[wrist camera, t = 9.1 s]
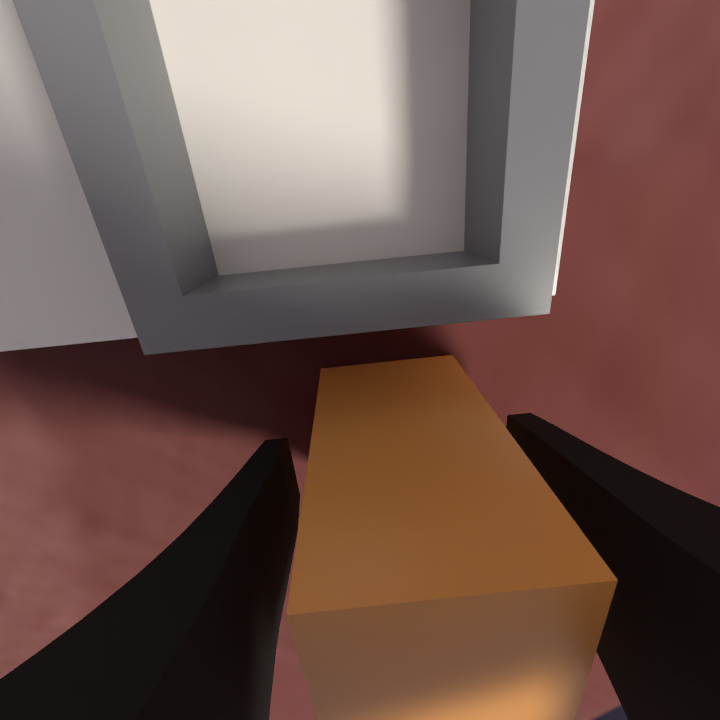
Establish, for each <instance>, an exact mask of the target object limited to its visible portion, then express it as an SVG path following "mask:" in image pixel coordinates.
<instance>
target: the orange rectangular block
mask: <svg viewBox="0 0 720 720" xmlns="http://www.w3.org/2000/svg"><path fill="white" fill-rule="evenodd" d="M617 581H618V580H617V578H616V577H615V575H614V574H613V573H612V571H611V570H610V569H609V567H608V566H607V565H606V563H605V562H604V560H603V559H602V558H601V556H600V555H599V554H598V552H597V551H596V550H595V548H594V547H593V545H592V544H591V543H590V541H589V540H588V539H587V537H586V536H585V535H584V533H583V532H582V531H581V529H580V528H579V526H578V525H577V524H576V522H575V521H574V520H573V518H572V517H571V516H570V514H569V513H568V511H567V510H566V509H565V507H564V506H563V505H562V503H561V502H560V501H559V499H558V498H557V496H556V495H555V494H554V492H553V491H552V490H551V488H550V487H549V486H548V484H547V483H546V482H545V480H544V479H543V477H542V476H541V475H540V473H539V472H538V471H537V469H536V468H535V467H534V465H533V464H532V462H531V461H530V460H529V458H528V457H527V456H526V454H525V453H524V452H523V450H522V449H521V447H520V446H519V445H518V443H517V442H516V441H515V439H514V438H513V437H512V435H511V434H510V433H509V431H508V430H507V428H506V427H505V426H504V424H503V423H502V422H501V420H500V419H499V418H498V416H497V415H496V413H495V412H494V411H493V409H492V408H491V407H490V405H489V404H488V403H487V401H486V400H485V399H484V397H483V396H482V394H481V393H480V392H479V390H478V389H477V388H476V386H475V385H474V384H473V382H472V381H471V379H470V378H469V377H468V375H467V374H466V373H465V371H464V370H463V369H462V367H461V366H460V364H459V363H458V362H457V360H456V359H455V358H454V356H453V355H445V356H436V357H426V358H417V359H407V360H398V361H388V362H379V363H369V364H360V365H350V366H341V367H331V368H322V369H321V372H320V379H319V386H318V393H317V400H316V407H315V415H314V422H313V429H312V436H311V443H310V450H309V458H308V465H307V472H306V479H305V486H304V493H303V501H302V508H301V515H300V522H299V529H298V536H297V544H296V551H295V558H294V565H293V572H292V579H291V587H290V594H289V601H288V608H287V619H288V622H289V625H290V629H291V632H292V636H293V639H294V643H295V646H296V650H297V653H298V656H299V660H300V663H301V667H302V670H303V674H304V677H305V680H306V684H307V687H308V691H309V694H310V698H311V701H312V705H313V708H314V711H315V715H316V718H317V720H575V719H576V716H577V713H578V709H579V706H580V703H581V700H582V696H583V693H584V690H585V686H586V683H587V680H588V677H589V673H590V670H591V667H592V663H593V660H594V657H595V654H596V650H597V647H598V644H599V640H600V637H601V634H602V631H603V627H604V624H605V621H606V618H607V614H608V611H609V608H610V604H611V601H612V598H613V595H614V591H615V588H616V585H617Z"/></svg>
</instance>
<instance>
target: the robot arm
mask: <svg viewBox="0 0 720 720" xmlns="http://www.w3.org/2000/svg"><path fill="white" fill-rule="evenodd" d="M506 428H507V430H508V431H509V433H510V434H511V435H512V437H513V438H514V439H515V441H516V442H517V443H518V445H519V446H520V447H521V449H522V450H523V452H524V453H525V454H526V456H527V457H528V458H529V460H530V461H531V462H532V464H533V465H534V467H535V468H536V469H537V471H538V472H539V473H540V475H541V476H542V477H543V479H544V480H545V482H546V483H547V484H548V486H549V487H550V488H551V490H552V491H553V492H554V494H555V495H556V496H557V498H558V499H559V501H560V502H561V503H562V505H563V506H564V507H565V509H566V510H567V511H568V513H569V514H570V516H571V517H572V518H573V520H574V521H575V522H576V524H577V525H578V526H579V528H580V529H581V531H582V532H583V533H584V535H585V536H586V537H587V539H588V540H589V541H590V543H591V544H592V545H593V547H594V548H595V550H596V551H597V552H598V554H599V555H600V556H601V558H602V559H603V560H604V562H605V563H606V565H607V566H608V567H609V569H610V570H611V571H612V573H613V574H614V575H615V577H616V578H617V580H618V581H617V585H616V588H615V591H614V595H613V598H612V601H611V604H610V608H609V611H608V614H607V618H606V621H605V624H604V627H603V631H602V634H601V637H600V640H599V644H598V647H597V650H596V651H597V653H598V655H599V657H600V659H601V662H602V664H603V666H604V668H605V670H606V672H607V674H608V676H609V679H610V681H611V683H612V685H613V687H614V690H615V692H616V694H617V696H618V698H619V700H620V703H621V705H622V707H623V709H624V711H625V713H626V715H627V717H628V720H720V507H718V506H716V505H713V504H711V503H708V502H706V501H704V500H701V499H699V498H697V497H694V496H692V495H690V494H687V493H685V492H683V491H681V490H679V489H676V488H674V487H672V486H670V485H668V484H665V483H663V482H661V481H659V480H657V479H655V478H653V477H651V476H649V475H647V474H645V473H643V472H641V471H639V470H637V469H635V468H633V467H631V466H629V465H627V464H625V463H623V462H621V461H619V460H617V459H615V458H613V457H611V456H610V455H608V454H606V453H604V452H602V451H600V450H598V449H596V448H595V447H593V446H591V445H589V444H587V443H585V442H584V441H582V440H580V439H578V438H576V437H575V436H573V435H571V434H569V433H567V432H565V431H564V430H562V429H560V428H558V427H556V426H555V425H553V424H551V423H549V422H547V421H545V420H543V419H541V418H540V417H538V416H535V415H533V414H531V413H525V414H515V415H508V416H507V427H506ZM299 503H300V493H299V489H298V484H297V479H296V475H295V470H294V465H293V461H292V456H291V451H290V446H289V442H288V438H282V439H273V440H265V441H264V442H263V444H262V445H261V446H260V447H259V448H258V449H257V450H256V452H255V453H254V454H253V455H252V456H251V458H250V459H249V460H248V461H247V462H246V464H245V465H244V466H243V467H242V468H241V470H240V471H239V472H238V473H237V474H236V475H235V477H234V478H233V479H232V480H231V481H230V482H229V484H228V485H227V486H226V487H225V488H224V489H223V490H222V491H221V493H220V494H219V495H218V496H217V497H216V498H215V499H214V501H213V502H212V503H211V504H210V505H209V506H208V507H207V508H206V509H205V510H204V511H203V512H202V513H201V514H200V515H199V516H198V517H197V518H196V519H195V520H194V522H193V523H192V524H191V525H190V526H189V527H188V528H187V529H186V530H185V531H184V532H183V533H182V534H181V535H180V536H179V537H178V538H177V539H176V540H174V541H173V542H172V543H171V544H170V545H169V546H168V547H167V548H166V549H165V550H164V551H163V552H162V553H160V554H159V555H158V556H157V557H156V558H155V559H154V560H153V561H152V562H150V563H149V564H148V565H147V566H146V567H145V568H144V569H143V570H142V571H140V572H139V573H138V574H137V575H136V576H135V577H133V578H132V579H131V580H130V581H128V582H127V583H126V584H125V585H124V586H122V587H121V588H120V589H119V590H117V591H116V592H115V593H114V594H112V595H111V596H110V597H109V598H108V599H106V600H105V601H104V602H103V603H101V604H100V605H99V606H98V607H96V608H95V609H94V610H93V611H92V612H90V613H89V614H88V615H87V616H85V617H84V618H83V619H82V620H80V621H79V622H78V623H76V624H75V625H74V626H72V627H71V628H70V629H68V630H67V631H66V632H64V633H63V634H62V635H60V636H59V637H58V638H56V639H55V640H54V641H52V642H51V643H50V644H48V645H47V646H46V647H44V648H43V649H42V650H40V651H39V652H38V653H36V654H35V655H33V656H32V657H31V658H29V659H28V660H26V661H25V662H24V663H22V664H21V665H19V666H18V667H17V668H15V669H14V670H13V671H11V672H10V673H8V674H7V675H6V676H4V677H3V678H1V679H0V720H269V712H270V702H271V692H272V683H273V673H274V664H275V654H276V646H277V639H278V633H279V626H280V621H281V616H282V610H283V605H284V600H285V595H286V590H287V584H288V579H289V574H290V569H291V564H292V558H293V553H294V548H295V542H296V537H297V530H298V518H299Z"/></svg>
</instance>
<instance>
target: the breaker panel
mask: <svg viewBox="0 0 720 720" xmlns="http://www.w3.org/2000/svg"><path fill="white" fill-rule="evenodd" d="M594 1H595V0H0V352H2V351H12V350H21V349H31V348H41V347H51V346H61V345H70V344H80V343H90V342H100V341H110V340H119V339H129V338H138V340H139V342H140V345H141V348H142V350H143V353H144V355H149V354H159V353H169V352H179V351H188V350H198V349H208V348H218V347H228V346H237V345H247V344H257V343H267V342H276V341H286V340H296V339H306V338H316V337H325V336H335V335H345V334H355V333H364V332H374V331H384V330H394V329H403V328H413V327H423V326H433V325H443V324H452V323H462V322H472V321H482V320H491V319H501V318H511V317H521V316H531V315H540V314H550V306H551V299H552V295H555V293H556V285H557V278H558V270H559V263H560V255H561V248H562V240H563V233H564V225H565V218H566V210H567V203H568V195H569V188H570V181H571V173H572V166H573V158H574V151H575V143H576V136H577V128H578V121H579V113H580V106H581V98H582V91H583V83H584V76H585V68H586V61H587V54H588V46H589V39H590V31H591V24H592V16H593V9H594Z"/></svg>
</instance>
